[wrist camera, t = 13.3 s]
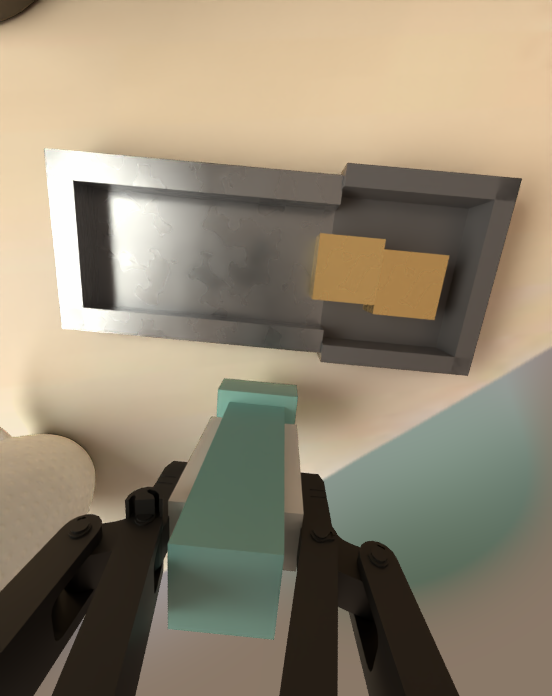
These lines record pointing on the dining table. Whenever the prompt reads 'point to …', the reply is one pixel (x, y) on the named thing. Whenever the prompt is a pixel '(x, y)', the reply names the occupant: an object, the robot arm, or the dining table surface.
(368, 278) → the chip
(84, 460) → the mug
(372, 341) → the tray
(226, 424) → the teal t-shaped block
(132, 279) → the dark gray shallow tray
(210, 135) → the dining table surface
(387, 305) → the chip
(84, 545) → the robot arm
